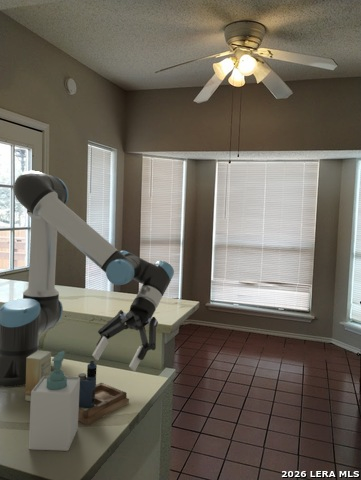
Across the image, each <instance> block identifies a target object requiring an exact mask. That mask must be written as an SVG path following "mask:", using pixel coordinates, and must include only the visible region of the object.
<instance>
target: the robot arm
mask: <svg viewBox="0 0 361 480" xmlns="http://www.w3.org/2000/svg"><path fill="white" fill-rule="evenodd" d="M13 193H14V196H15V198H16V200H17V201H18V202H19V204H21V206H23V207H24V208H25V209H26V214H27V215H28V216H29V217H30V220H31V223H30V246H29V263H28V264H29V265H28V285H27V286H28V287H27V289H25V290H24V291H23V292H22V298H17V299H13V300H10V301H9V300H8V301H7V302H5V303H4V304H2V305H1V306H0V387H5V388H9V387H11V388H12V387H13V388H14V387H21V386H26V358H27V357H28V356H30V355H31V354H33V353H34V352H36V351H37V350H39V347H40V346H39V344H40V343H39V342H40V341H39V340H40V335H41V334H43V333H45V332H46V331H48V330H50V329H52V328H54V326H56V325H57V324H58V323H59V322H60V320H61V318H62V316H63V312H64V310H63V309H64V308H63V303H62V302H61V300H60V299H59V297H60V293H59V291H58V290H57V289H56V288H55V287H56V285H55V284H56V269H57V268H56V267H57V265H56V262H57V247H58V246H57V245H58V244H57V243H58V233H59V234H60V235H62V236H63V237H64V238H65V239H66V240H67V241H68V242H70V243H71V244H72V246H74V247H75V248H77V250H79V251H80V252H81V253H82V254H83V255H85V256H86V257H87V258H88V259H89V260H90V261H91V262H92V263H94V264H95V265H96V266H97V267H99V269H100V270H102V271H103V272H104V273H105V274H106V278H107V280H108V281H109V282H110V283H111V284H112V285H115V286H121V285H127V284H128V283H130V282H131V281H132V280H133V281H135V282H137V283H140V284H142V285H141V287H140V289H139V291H138V292H137V294H136V297H135V298H134V299H133V301H132V302H131V305H130V307H129V311H128V312H124V310H122V309H121V310H119V311H118V313H116V314H115V316H114V317H113V318H111V319H110V320H108V322H107V323H105V324H104V325H103V326H102V327H101V328H100V329H99V330H98V331H97V334H99V335H100V337H99V339H98V341H97V343H96V347H95V349H94V351H93V352H92V355H91V356H92V357H93V358H94V360H95V361H99V360H100V358H101V356H102V354H103V352H104V351H105V349H106V347H107V345H108V344H109V342H110V341H109V339H111V338H113V337H114V336H116V335H118V334H119V333H121V332H122V331H125V330H127V329H130V330H135V331H138V332H139V335H140V340H141V343H142V344H141V345H138V348H137V350H136V352H135V354H134V356H133V358H132V359H131V361H130V363H129V366H128V367H129V368H130V369H131V371H132V372H136V370H137V368H138V366H139V364H140V362H141V361H143V360H144V359H145V357H146V355H147V353H148V351H155V350H156V348H157V341H156V340H157V326H158V324H159V322H158V320H157V319H156V317H155V316H154V314H155V312H156V309H157V308H158V306H159V305H160V302H161V300H162V298H163V296H164V295H165V292H166V291H167V289H168V287H169V286H170V284H171V282H172V279H173V277H174V275H175V269H174V267H173V265H171V264H170V263H169V262H167V261H164V260H163V261H162V260H158V261H156V262H155V263H152V262H149V261H147V260H146V259H143V258H141V257H139V256H137V255H135V254H134V253H132V252H129V251H126V250H120V251H119V250H118V249H117V248H116V246H113V244H112V243H110V242H109V241H108V240H107V239H105V237H103V236H102V235H101V234H100V233H98V231H96V230H95V229H94V228H93V227H92V226H90V225H89V224H88V223H87V222H86V221H85V220H83V219H82V218H81V217H80V216H79V215H78V214H76V213H75V211H73V210H72V209H71V208H70V207H68V206H67V205H66V204H67V202H68V201H69V197H70V196H69V189H68V187H67V185H66V183H65V182H64V181H63V180H62V179H60V178H59V177H58V176H55V175H51V174H48V173H44V172H40V171H35V170H29V171H25V172H23V173H21V174H20V175H19V176H18V177H17V178H16V180H15V181H14V184H13ZM147 325H148V326H149V328H148V331H149V332H148V337H147V332H146V326H147Z"/></svg>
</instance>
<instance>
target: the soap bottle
mask: <svg viewBox="0 0 361 480" xmlns="http://www.w3.org/2000/svg"><path fill="white" fill-rule="evenodd" d="M65 353H66V351H64V350H61V351H59V352H58V353H57V354H56V355H54V357H53V358H51V362H53V368H54V370H53V371H51V374H50V376H43V378H42V379H41V380H40V381H39V383H38V384H37V385H36V386H35V388H34V389H33V390H32V391H31V401H30V405H29V406H30V408H29V409H30V410H29V412H30V413H29V429H28V430H29V433H28V449H29V450H35V451H37V450H39V451H40V450H41V451H46V450H47V451H65V452H67V451H69V450H70V447H71V445H72V444H73V441H74V438H75V437H76V434H77V431H78V429H79V421H78V411H79V390H80V377H78V376H66V375H65V373H64V371H63V370H61V367H62V365H63V364H62V363H63V361H64V357H65Z"/></svg>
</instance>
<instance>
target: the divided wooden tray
mask: <svg viewBox="0 0 361 480" xmlns="http://www.w3.org/2000/svg"><path fill="white" fill-rule="evenodd" d="M129 403H130V398H128V397H127V392H126V391H123V390H121V389H119V388H116V387H113V386H110V385H109V384H106V383H104V382H100V383H96V387H95V402H94V407H92V408H84V407H79V411H78V422H81V423H83V424H85V425H87V426H89V425H91V424H92V423H94V422H96V421H98V420H100V419H102V418H103V416H104V417H105V416H107V415H109V414H111V413H112V412H114V410H115V411H116V410H119V409H120V408H122V407H123V406H126V405H128V404H129Z"/></svg>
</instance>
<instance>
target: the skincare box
mask: <svg viewBox="0 0 361 480" xmlns="http://www.w3.org/2000/svg"><path fill="white" fill-rule="evenodd" d="M51 367H52V351H47V350H39V349H38V350H37V351H36V352H34V353H33V354H31V355H30V356H28V357H27V358H26V385H25V388H24V389H25V390H24V392H25V395H24V396H25V397H24V401H27V402H31V391H32V390H33V389H34V388H35V386H36V385H37V384H38V383H39V381H40V380H41V379H42V378H43V376H50V374H51V372H52V371H51V369H52V368H51Z"/></svg>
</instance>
